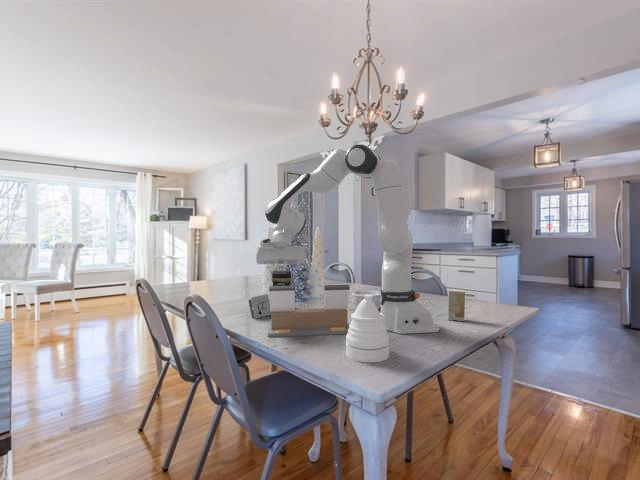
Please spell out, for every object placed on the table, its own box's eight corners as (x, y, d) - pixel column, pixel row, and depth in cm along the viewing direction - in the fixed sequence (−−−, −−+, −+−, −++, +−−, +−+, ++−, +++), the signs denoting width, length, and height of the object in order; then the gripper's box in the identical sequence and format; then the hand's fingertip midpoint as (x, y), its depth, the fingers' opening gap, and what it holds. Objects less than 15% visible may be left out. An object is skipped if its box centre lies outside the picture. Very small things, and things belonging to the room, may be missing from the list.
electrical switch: (256, 319, 140) (254, 297, 140) (248, 318, 143) (246, 297, 144) (272, 315, 147) (270, 294, 148) (264, 314, 151) (262, 294, 151)
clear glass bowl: (351, 305, 165) (351, 289, 165) (382, 305, 163) (382, 289, 163) (351, 312, 150) (351, 295, 150) (385, 313, 148) (385, 295, 148)
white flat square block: (347, 306, 126) (348, 284, 123) (348, 309, 125) (349, 287, 121) (323, 307, 126) (324, 285, 122) (323, 310, 124) (324, 288, 120)
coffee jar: (269, 310, 156) (269, 271, 156) (274, 306, 164) (273, 269, 164) (290, 310, 155) (289, 271, 155) (293, 306, 163) (293, 269, 163)
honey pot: (395, 361, 93) (394, 297, 93) (349, 363, 92) (349, 299, 92) (382, 345, 106) (382, 289, 106) (342, 347, 105) (342, 290, 105)
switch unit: (345, 322, 133) (345, 305, 133) (352, 333, 119) (352, 313, 119) (270, 325, 130) (270, 307, 130) (268, 337, 116) (267, 316, 116)
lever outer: (294, 308, 125) (294, 285, 122) (295, 310, 123) (294, 287, 120) (270, 308, 124) (269, 286, 121) (269, 311, 122) (269, 288, 119)
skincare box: (448, 320, 135) (448, 290, 135) (448, 317, 139) (448, 288, 139) (465, 321, 133) (465, 291, 132) (464, 319, 137) (464, 289, 137)
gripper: (304, 250, 147) (306, 274, 137) (257, 250, 144) (256, 275, 135) (305, 240, 142) (306, 264, 133) (256, 240, 140) (254, 265, 130)
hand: (280, 270), depth 134 cm, fingers closed
